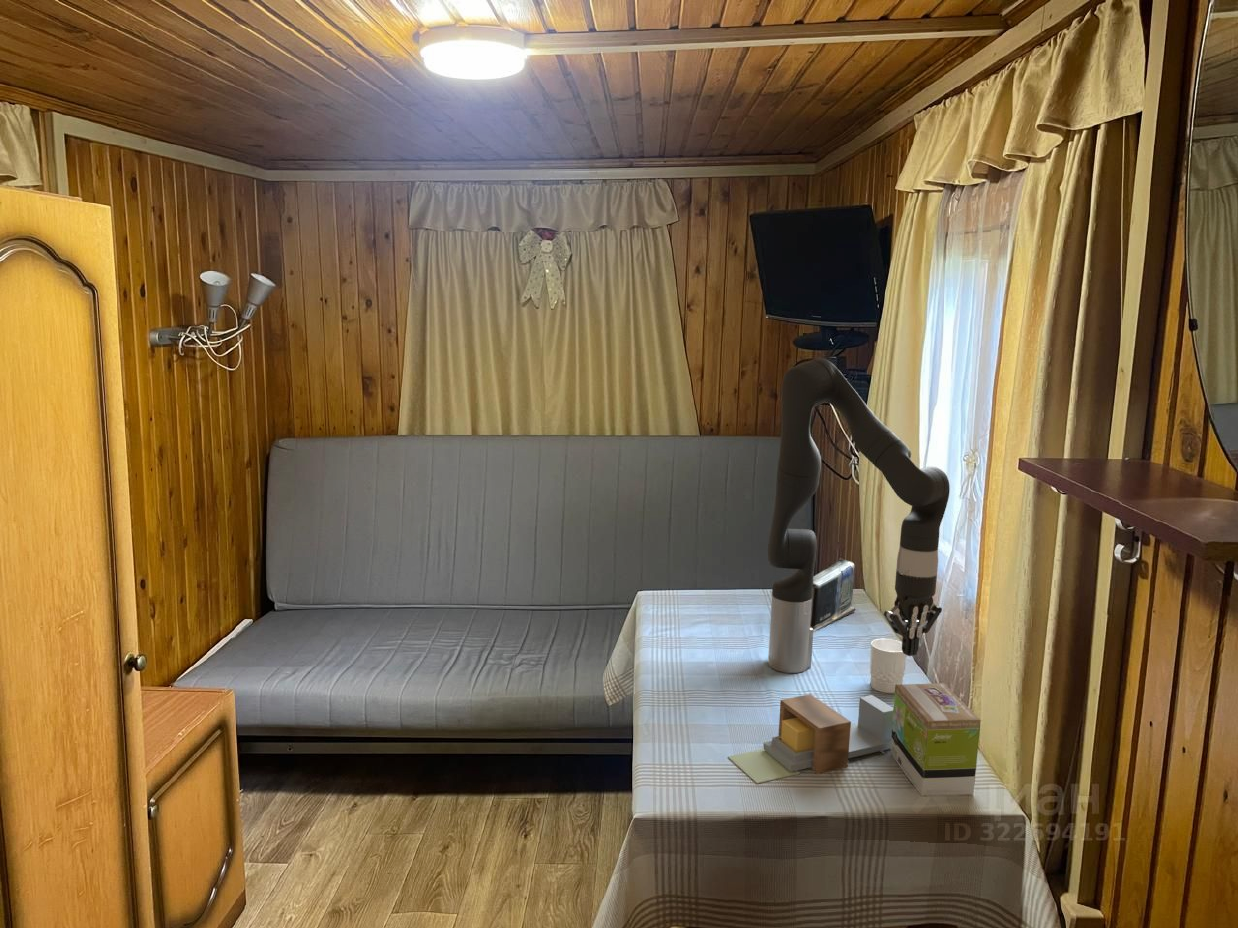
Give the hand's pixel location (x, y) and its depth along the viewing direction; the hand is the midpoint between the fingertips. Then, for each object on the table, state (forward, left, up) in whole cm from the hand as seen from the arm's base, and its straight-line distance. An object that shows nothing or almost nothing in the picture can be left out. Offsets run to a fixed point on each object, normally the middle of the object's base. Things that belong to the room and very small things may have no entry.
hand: (909, 654), depth 174 cm
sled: (+18, 0, -16) cm, 24 cm away
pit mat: (+13, 0, -17) cm, 21 cm away
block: (+25, 0, -15) cm, 29 cm away
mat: (+33, 0, -17) cm, 37 cm away
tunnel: (+22, 0, -17) cm, 28 cm away
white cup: (-12, -19, -17) cm, 28 cm away
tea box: (+6, +14, -17) cm, 23 cm away
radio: (-27, -59, -17) cm, 67 cm away
